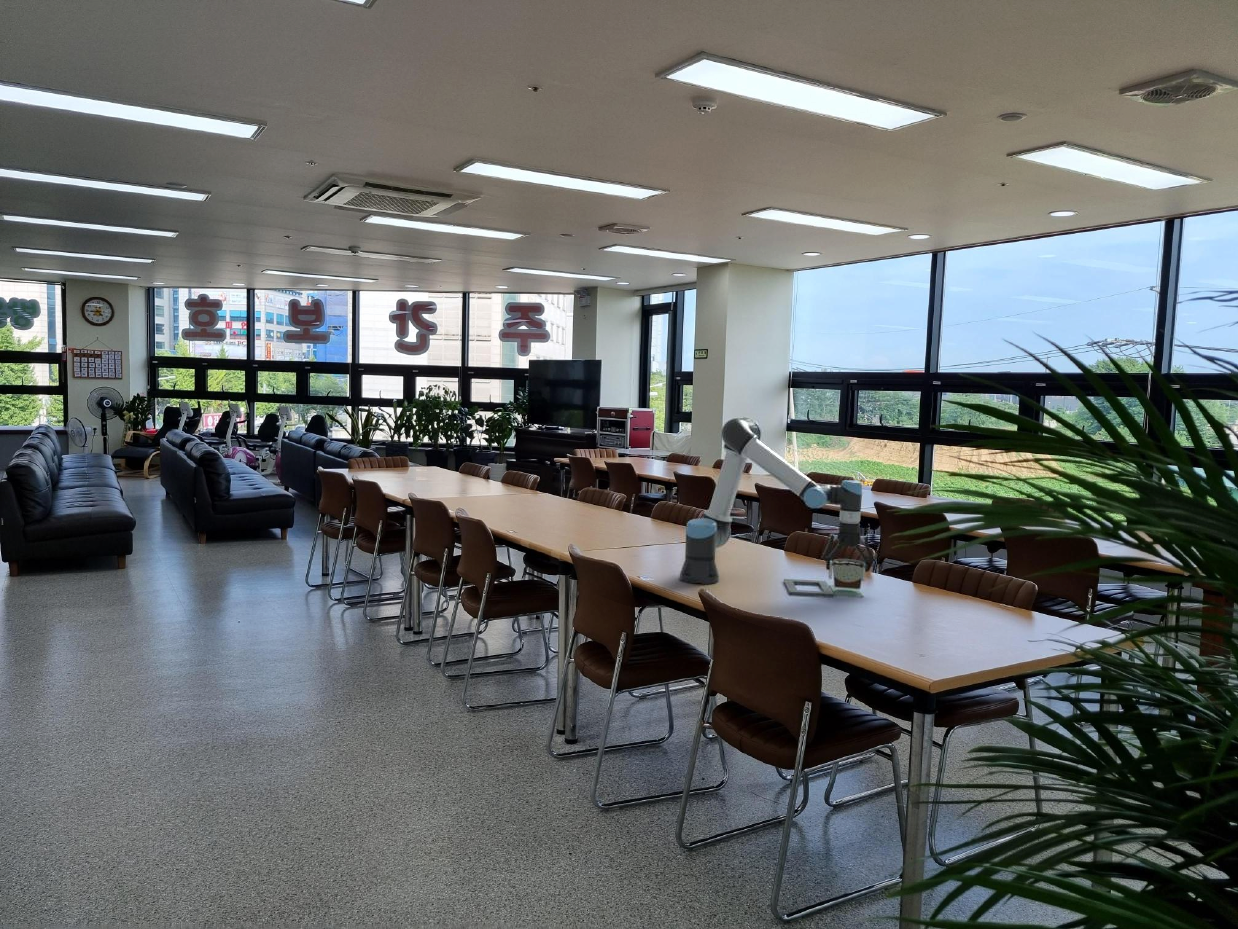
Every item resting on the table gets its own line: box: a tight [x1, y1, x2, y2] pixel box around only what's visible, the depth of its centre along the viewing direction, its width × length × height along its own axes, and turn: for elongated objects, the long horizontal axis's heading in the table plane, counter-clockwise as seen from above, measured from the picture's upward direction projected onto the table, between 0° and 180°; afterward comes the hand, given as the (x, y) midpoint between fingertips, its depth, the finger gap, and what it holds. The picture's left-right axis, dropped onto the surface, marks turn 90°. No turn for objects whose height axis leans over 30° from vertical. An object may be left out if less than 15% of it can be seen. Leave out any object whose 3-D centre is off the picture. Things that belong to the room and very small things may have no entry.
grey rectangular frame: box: [783, 578, 835, 598], centre depth 320 cm, size 16×22×1 cm
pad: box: [828, 584, 864, 597], centre depth 319 cm, size 10×16×1 cm, turn 175°
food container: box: [831, 558, 865, 590], centre depth 318 cm, size 12×6×10 cm, turn 76°
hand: (846, 579), depth 319 cm, fingers closed on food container, 11 cm apart
